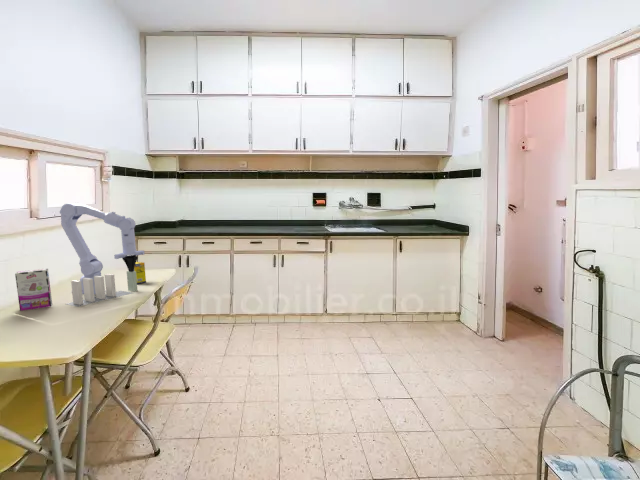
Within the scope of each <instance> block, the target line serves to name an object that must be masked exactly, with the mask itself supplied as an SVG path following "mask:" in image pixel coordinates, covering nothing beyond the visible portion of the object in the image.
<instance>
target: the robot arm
mask: <svg viewBox="0 0 640 480" xmlns="http://www.w3.org/2000/svg"><path fill="white" fill-rule="evenodd" d="M59 214H60V225H61V227H62V229H63V231H64V233H65V235H66V237H67V238H68V240H69V241H70V243H71V245H72V247H73V249H74V251H75V253H76V254H77V255H78V257H79V263H78V264H79V266H80V272H81V274H82V276H81V277H80V279H79V281H81V285H82V295H84V286H83V278H91V279H93V288H94V296H96V293H95V283H94V276H102V270H103V269H104V265H103V263H102V262H101V261H100V260H99V259H98V258H97V256H95V255H94V254H93V253H92V252H91V250H90V248H89V246H88V244H87V243H86V241H85V239H84V237H83V236H82V234H81V232H80V230H79V228H78V227H77V222H78V220H79V219H80V218H81V216H82V215H88V216H91V217H95V218H97V219H100V220H103V222H104V223H105V224H107V225H109V226H113V227H115V228H117V229H119V230H120V232H121V245H122V252H121V253H116V254H114V259H115V260H119V259H122V260H123V262H124V264H125V266H126V268H127V271H129V272H133V271H134V267H135V263H136V262H138V260H139V256H140V255H145V250H137V246H136V234H135V228H136V221H135V220H134V219H133V218H131V217H126V216H125V215H119V214H116V211H109V212H104V211H102V210H99V209H96V208H94V207H92V206H89V205H87V204H84V203H83V204H82V203H79V202H75V203H74V202H73V203H64V204H63V205H62V206H61V207H60V210H59ZM105 293H106V290H105Z"/></svg>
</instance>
